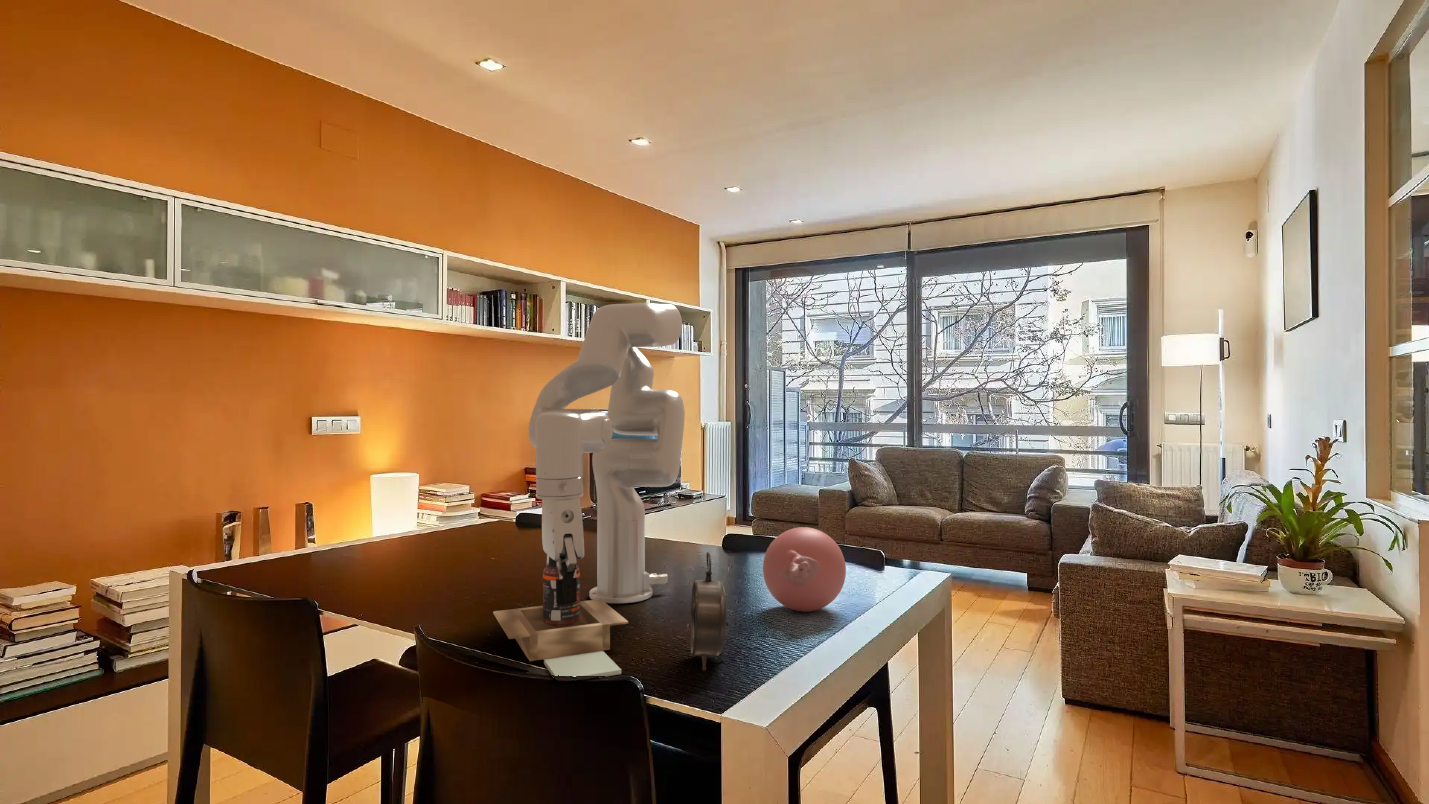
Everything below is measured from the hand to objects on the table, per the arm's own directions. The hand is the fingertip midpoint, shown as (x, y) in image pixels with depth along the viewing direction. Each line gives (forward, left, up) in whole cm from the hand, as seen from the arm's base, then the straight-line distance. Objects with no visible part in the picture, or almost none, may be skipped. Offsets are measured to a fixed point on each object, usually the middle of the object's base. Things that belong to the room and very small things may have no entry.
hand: (561, 596), depth 120 cm
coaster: (+1, +15, -7) cm, 16 cm away
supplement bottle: (0, 0, -4) cm, 4 cm away
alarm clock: (-17, +20, -7) cm, 27 cm away
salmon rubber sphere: (-44, +4, -7) cm, 44 cm away
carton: (+1, +1, -7) cm, 7 cm away
